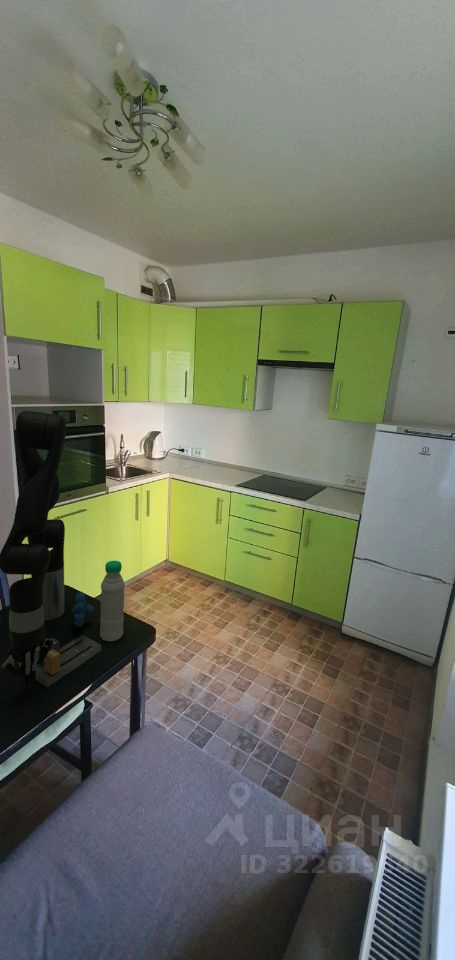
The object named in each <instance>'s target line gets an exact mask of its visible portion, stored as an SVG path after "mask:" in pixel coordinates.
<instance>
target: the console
mask: <svg viewBox="0 0 455 960" xmlns="http://www.w3.org/2000/svg"><path fill="white" fill-rule="evenodd" d="M101 651H102V645H101V644H100V643H98V642H96V641H94V640H93V639H91V638H89V637H87V636H85V635H84V634H82V635H80V636H79V637H77V638H75V639H74V640H72V641H70V642H68V643H66V644H65V645H63V646H62V647H60V670H59V671H58V672H56V673H55V674H53V675H51V674H50V673H48V672H47V671H45V659H44V661H43V663H42V664H41V665H38V666H37V668H36V678H35V680H34V681H37V682H38V683H40V684H41V685H43V686H44V687H45V688H49V687H50V686H51V685H53V684H55V683H56V682H58V681H59V680H60V679H61V678H63V677H65V676H67V675H68V674H69V673H71V672H73V671H74V670H75V669H77V668H78V667H80V666H81V665H83V664H84V663H85V662H87V661H88V660H90V659H91V658H93V657H94V656H96V655H97V654H99V653H100V652H101Z"/></svg>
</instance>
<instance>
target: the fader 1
mask: <svg viewBox="0 0 455 960" xmlns="http://www.w3.org/2000/svg"><path fill="white" fill-rule="evenodd" d="M49 639H50V640H52V641H53V644H52V646H51V648H50V650H49V651H51V650H52V649H53V650H55V651H57V652H58V653H60V648H61V646H60V641H59V640H57V639H55V638H54V637H51V638H49Z"/></svg>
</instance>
